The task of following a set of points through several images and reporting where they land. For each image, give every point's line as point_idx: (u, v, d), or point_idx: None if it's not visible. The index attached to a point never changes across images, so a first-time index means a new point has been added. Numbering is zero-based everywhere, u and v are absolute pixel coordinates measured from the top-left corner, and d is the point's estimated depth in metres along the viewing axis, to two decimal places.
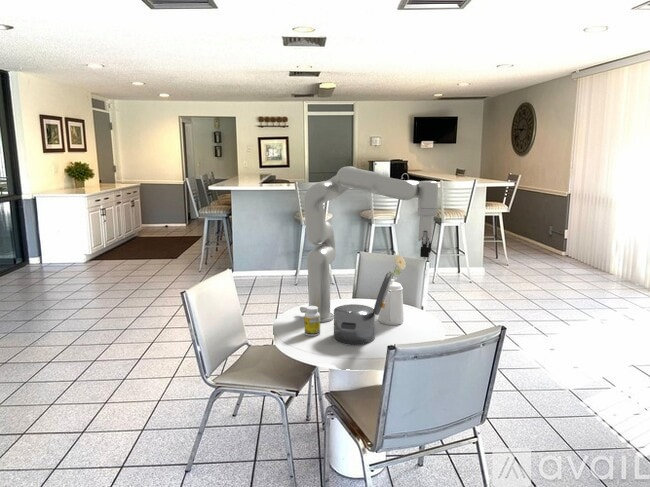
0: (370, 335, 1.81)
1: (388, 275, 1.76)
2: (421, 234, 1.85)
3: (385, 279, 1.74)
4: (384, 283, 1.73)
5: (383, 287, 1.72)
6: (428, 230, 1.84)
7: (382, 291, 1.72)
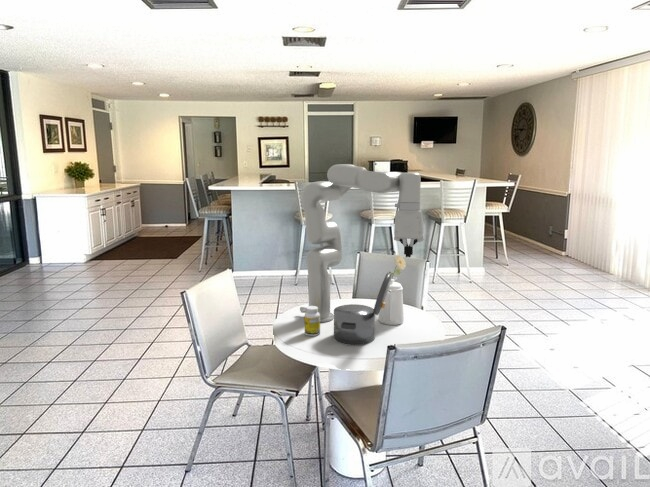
0: (370, 335, 1.81)
1: (388, 275, 1.76)
2: (422, 230, 1.70)
3: (385, 279, 1.74)
4: (384, 283, 1.73)
5: (383, 287, 1.72)
6: None
7: (382, 291, 1.72)
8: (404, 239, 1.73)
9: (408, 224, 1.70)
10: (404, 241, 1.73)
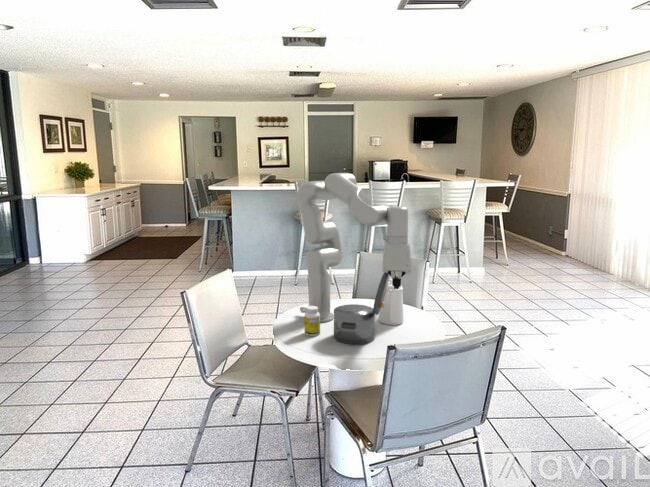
0: (370, 335, 1.81)
1: (385, 274, 1.76)
2: (410, 263, 1.74)
3: (382, 278, 1.74)
4: (382, 282, 1.73)
5: (381, 286, 1.73)
6: None
7: (380, 290, 1.72)
8: (392, 271, 1.76)
9: (396, 257, 1.73)
10: (392, 273, 1.76)
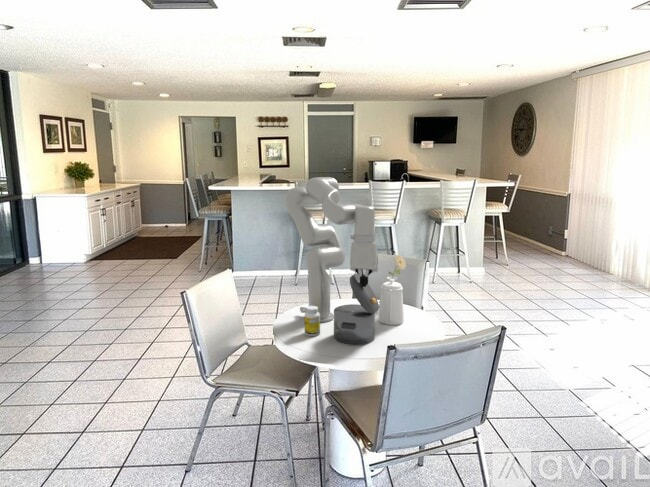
0: (370, 335, 1.81)
1: (351, 277, 1.80)
2: (376, 261, 1.77)
3: (350, 281, 1.78)
4: (352, 284, 1.77)
5: (353, 287, 1.76)
6: (377, 255, 1.79)
7: (355, 291, 1.75)
8: (359, 269, 1.80)
9: (363, 256, 1.77)
10: (359, 271, 1.80)
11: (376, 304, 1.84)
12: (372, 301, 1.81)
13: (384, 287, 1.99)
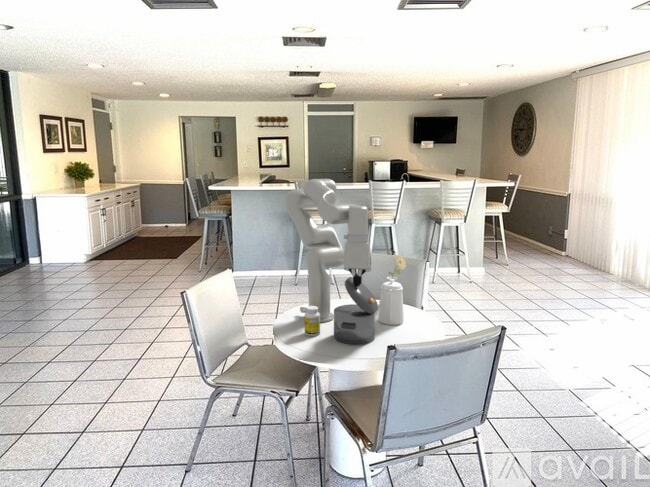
0: (370, 335, 1.81)
1: (346, 280, 1.81)
2: (369, 261, 1.78)
3: (345, 284, 1.79)
4: (347, 287, 1.78)
5: (349, 290, 1.76)
6: None
7: (351, 293, 1.76)
8: (353, 269, 1.80)
9: (356, 255, 1.78)
10: (353, 271, 1.80)
11: (375, 304, 1.84)
12: (370, 301, 1.81)
13: (384, 287, 1.99)
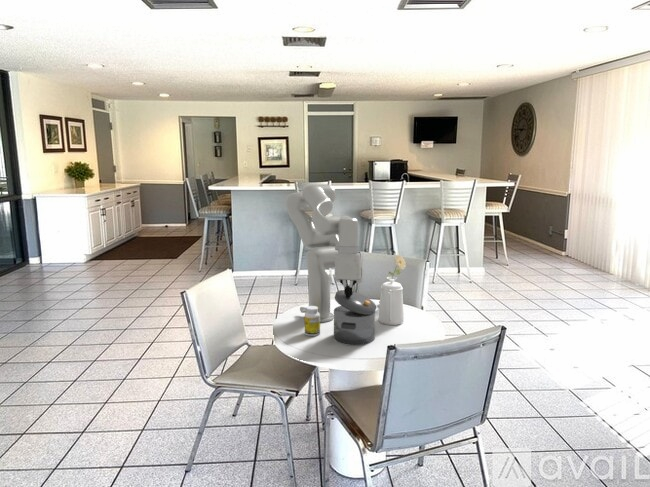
0: (370, 335, 1.81)
1: None
2: (360, 272, 1.79)
3: (335, 298, 1.81)
4: (337, 300, 1.80)
5: (340, 302, 1.78)
6: (361, 266, 1.82)
7: (343, 303, 1.77)
8: (344, 280, 1.82)
9: (347, 267, 1.79)
10: (344, 282, 1.82)
11: (372, 304, 1.85)
12: (365, 304, 1.82)
13: (384, 287, 1.99)
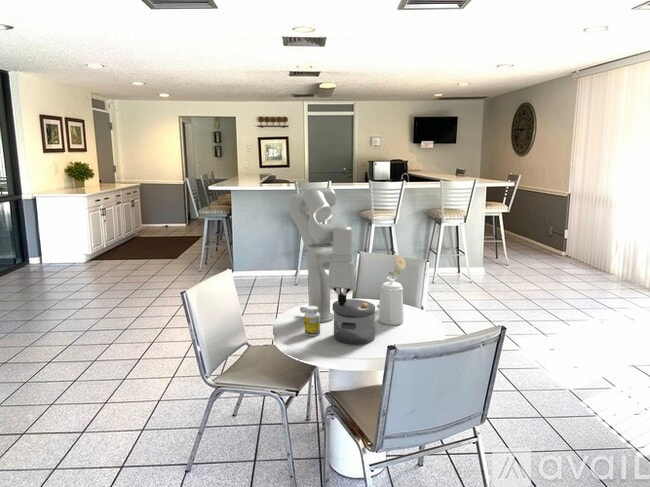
0: (370, 335, 1.81)
1: (332, 306, 1.85)
2: (354, 280, 1.81)
3: (333, 309, 1.82)
4: (335, 310, 1.81)
5: (337, 311, 1.79)
6: None
7: (340, 311, 1.78)
8: (337, 288, 1.83)
9: (340, 275, 1.81)
10: (337, 290, 1.84)
11: (371, 305, 1.85)
12: (363, 306, 1.82)
13: (384, 287, 1.99)
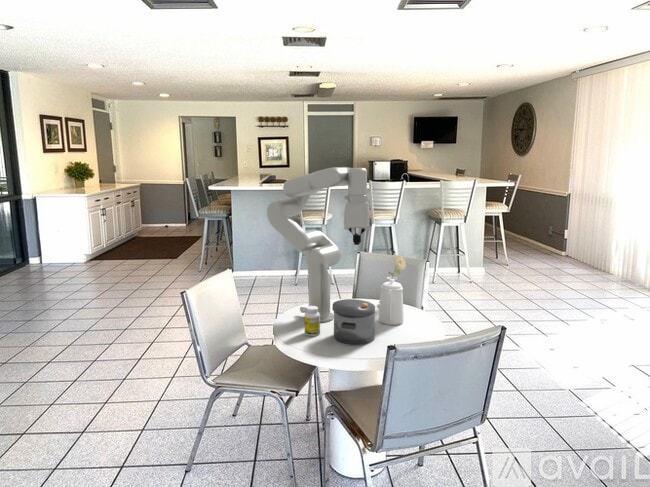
0: (370, 335, 1.81)
1: (332, 306, 1.85)
2: (368, 220, 1.88)
3: (333, 309, 1.82)
4: (335, 310, 1.81)
5: (337, 311, 1.79)
6: (369, 215, 1.90)
7: (340, 311, 1.78)
8: (353, 228, 1.90)
9: (356, 215, 1.87)
10: (353, 230, 1.90)
11: (371, 305, 1.85)
12: (363, 306, 1.82)
13: (384, 287, 1.99)
